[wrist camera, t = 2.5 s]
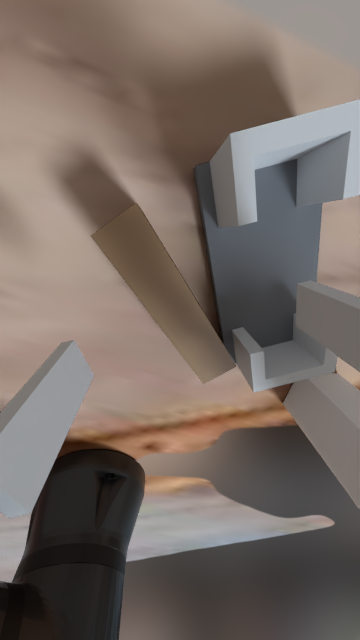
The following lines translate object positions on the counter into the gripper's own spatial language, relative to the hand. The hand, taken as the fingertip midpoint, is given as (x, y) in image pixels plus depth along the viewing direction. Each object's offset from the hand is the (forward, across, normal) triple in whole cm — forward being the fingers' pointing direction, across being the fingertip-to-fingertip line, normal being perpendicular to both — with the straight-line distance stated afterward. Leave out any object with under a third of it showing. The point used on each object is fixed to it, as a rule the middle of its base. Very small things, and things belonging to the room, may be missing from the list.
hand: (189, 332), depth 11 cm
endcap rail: (+9, +8, 0) cm, 12 cm away
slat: (+9, -1, 0) cm, 9 cm away
